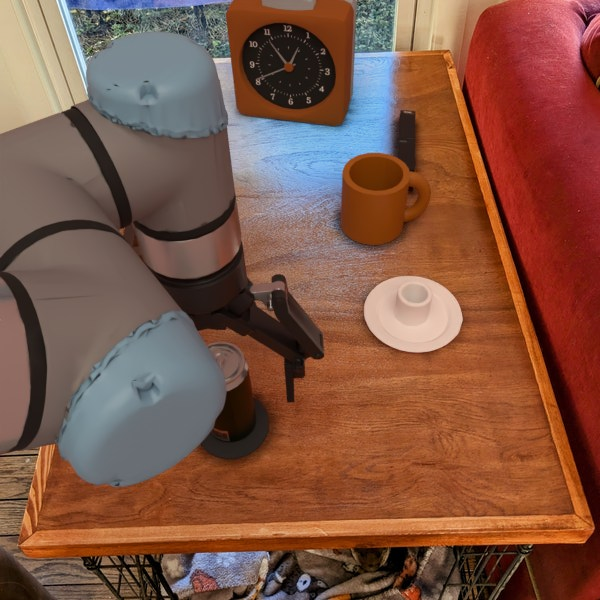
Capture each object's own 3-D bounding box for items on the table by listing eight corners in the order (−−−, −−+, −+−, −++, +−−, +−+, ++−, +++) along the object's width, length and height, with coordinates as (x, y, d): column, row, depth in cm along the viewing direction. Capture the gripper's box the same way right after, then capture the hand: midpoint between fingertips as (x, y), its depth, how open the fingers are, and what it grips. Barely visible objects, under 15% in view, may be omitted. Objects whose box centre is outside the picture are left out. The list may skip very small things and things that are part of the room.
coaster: (217, 473, 66) (217, 471, 65) (184, 416, 70) (183, 414, 70) (282, 435, 68) (282, 433, 68) (246, 382, 73) (246, 380, 72)
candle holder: (480, 331, 76) (488, 308, 73) (398, 371, 73) (402, 350, 70) (423, 267, 83) (428, 244, 80) (345, 301, 80) (346, 279, 76)
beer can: (248, 450, 67) (237, 392, 57) (201, 439, 68) (182, 380, 58) (262, 407, 70) (254, 345, 61) (217, 397, 71) (201, 335, 62)
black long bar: (413, 195, 92) (415, 179, 90) (395, 194, 92) (397, 178, 90) (414, 123, 103) (416, 107, 101) (398, 122, 103) (400, 106, 101)
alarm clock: (235, 116, 106) (221, -7, 90) (250, 87, 111) (238, -34, 95) (343, 129, 103) (348, 4, 87) (353, 98, 108) (358, -24, 92)
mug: (425, 250, 85) (435, 200, 78) (337, 243, 86) (339, 193, 79) (426, 205, 91) (435, 155, 84) (343, 199, 92) (345, 149, 85)
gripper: (352, 206, 49) (343, 357, 66) (39, 217, 49) (109, 366, 66) (361, 277, 45) (349, 421, 61) (15, 290, 45) (97, 431, 61)
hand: (225, 393), depth 64 cm, fingers open, 13 cm apart
